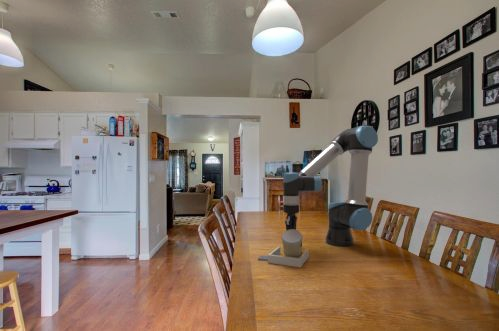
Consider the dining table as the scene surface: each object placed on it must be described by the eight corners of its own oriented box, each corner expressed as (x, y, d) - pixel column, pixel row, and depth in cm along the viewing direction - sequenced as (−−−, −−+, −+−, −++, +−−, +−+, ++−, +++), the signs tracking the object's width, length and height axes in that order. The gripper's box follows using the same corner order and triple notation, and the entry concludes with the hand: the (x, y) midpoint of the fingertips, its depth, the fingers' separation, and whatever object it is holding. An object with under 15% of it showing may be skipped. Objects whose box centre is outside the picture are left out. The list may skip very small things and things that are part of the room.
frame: (308, 257, 131) (308, 249, 131) (300, 267, 117) (300, 259, 117) (278, 253, 137) (278, 246, 137) (267, 262, 123) (267, 255, 123)
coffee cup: (307, 259, 124) (306, 239, 119) (287, 265, 123) (286, 245, 117) (298, 245, 133) (297, 226, 127) (280, 251, 131) (278, 232, 125)
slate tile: (270, 258, 130) (270, 256, 130) (268, 262, 126) (268, 259, 126) (260, 257, 132) (260, 255, 132) (257, 261, 127) (257, 258, 127)
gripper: (287, 202, 140) (287, 248, 140) (279, 205, 128) (279, 255, 128) (302, 203, 137) (302, 250, 137) (295, 206, 125) (295, 258, 125)
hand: (291, 253), depth 132 cm, fingers closed
